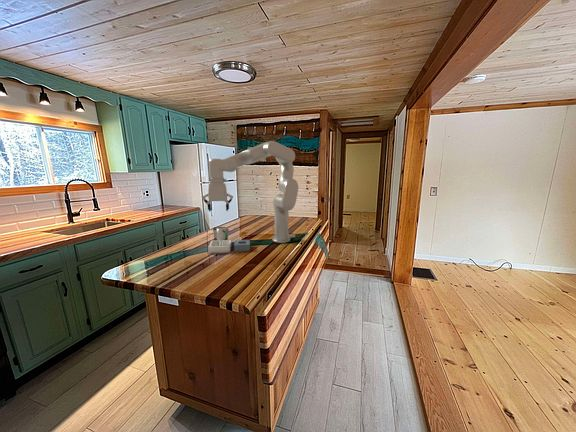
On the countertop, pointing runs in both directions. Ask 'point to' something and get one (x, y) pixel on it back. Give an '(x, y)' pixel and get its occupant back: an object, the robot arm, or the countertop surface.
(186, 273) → the countertop surface
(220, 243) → the steel pin
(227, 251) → the parts tray
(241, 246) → the block
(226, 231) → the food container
